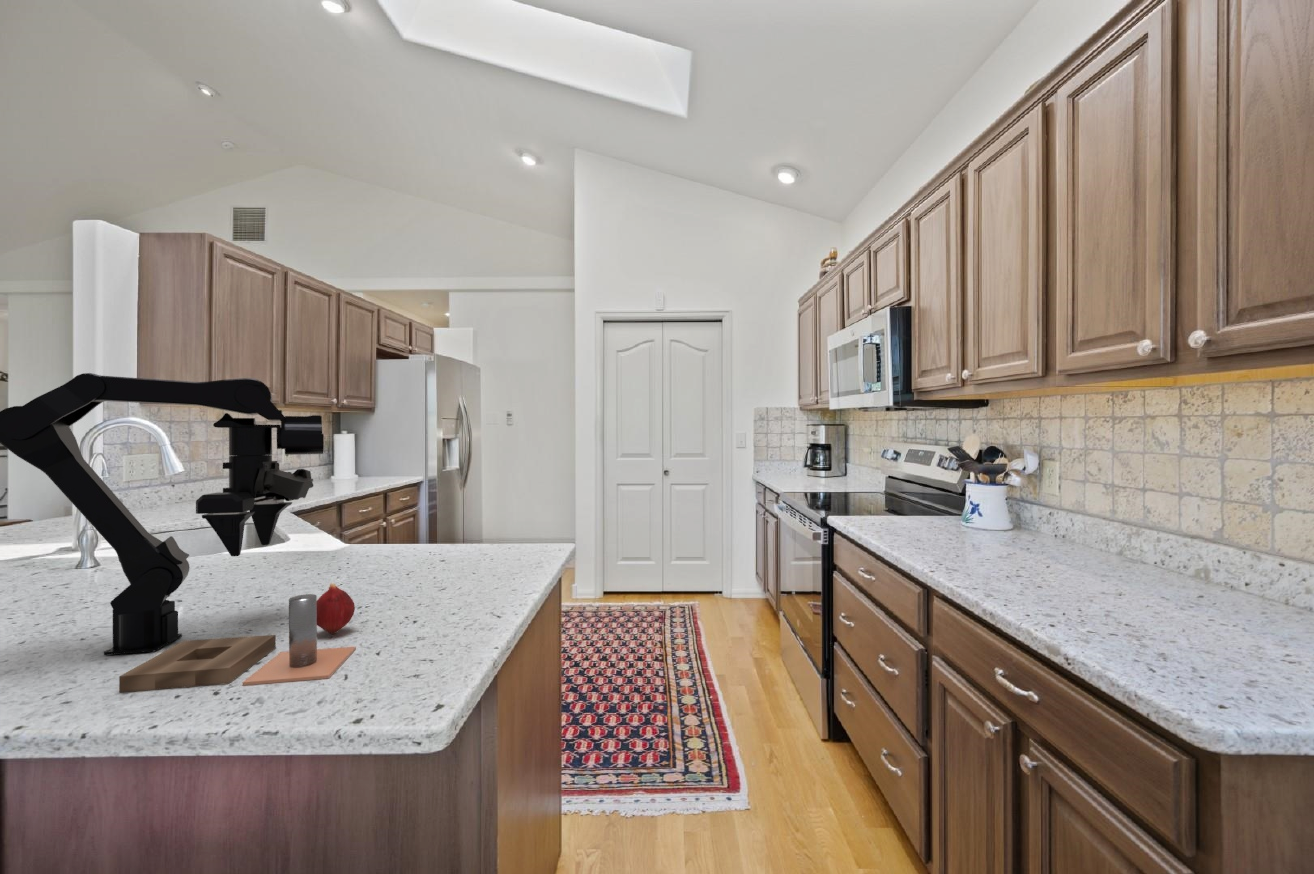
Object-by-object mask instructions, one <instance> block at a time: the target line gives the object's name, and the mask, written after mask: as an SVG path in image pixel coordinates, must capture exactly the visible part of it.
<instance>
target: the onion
mask: <svg viewBox="0 0 1314 874" xmlns="http://www.w3.org/2000/svg"><path fill="white" fill-rule="evenodd" d="M355 609H356V606H355V601H354V600H353V598H352V597H351V596H350V595H349V594H348V593H347V592H346V591H344V590H343V589H341V588H339V587H338V586H337V585H336V584H335V583H333V582H332V583H330V584H329V587H328V590H327V591H324V593H322V595H321V596H320V597H319V598H317V627H319V628H321V629H322V630H324V631H326V632H327V633H329V634H330V635H333V634H334V635H335V634H336V633H337V632H339V631H340V630H342V629H343V628H344V627H346V625H347V624H349V622H350V621H351V620H352V618H353V616H354V614H355Z"/></svg>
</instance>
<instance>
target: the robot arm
mask: <svg viewBox="0 0 1314 874" xmlns="http://www.w3.org/2000/svg"><path fill="white" fill-rule="evenodd" d="M272 395H273V394H272V393H271V391H270V389H269V387H268V385H266V384H265V383H264V382H262V381H261V380H258V379H255V378H252V377H245V378H244V377H243V378H230V379H227V378H226V379H221V380H218V379H217V380H209V381H187V380H186V381H185V380H169V379H156V378H140V377H125V376H111V375H101V374H97V373H91V372H86V373H81V374H78V375H76V376H75V377H73V378H72V379H70V380H69V381H67V382H65V383H64V384H62V385H60V386H58V387H56V388H54V389H52V390H50V391H48V392H45V393H43V394H41V395H39V396H37V397H35V398H33V399H32V400H30V401H29V402H26V403H25V404H23V405H15V406H14V405H13V406H11V407H7V408H4V409H2V410H0V445H2V446H3V447H4V448H6V449H7V450H9V451H10V452H11V453H12V454H14V455H15V456H16V457H18V458H19V459H20V460H22V461H25V462H26V463H29V464H30V465H31V466H33V467H34V468H37V469H38V470H40V471H41V472H43V474H45V475H46V476H47V477H48V478H49V479H50V480H51V481H52V482H53V484H54V485H55V486H56V487H57V488H58V489H59V490H60V492H62V494H63V495H65V497H66V498H67V499H68V500H69V501H70V502H71V504H72V505H73V506H75V508H76V509H77V510H78V511H79V512H80V513H81V515H82V516H83V517H84V518H85V519H86V520H87V521H88V522H89V523H90V525H92V527H93V528H95V530H96V532H98V533H99V534H100V535H101V536H102V538H104V540H105V541H106V542H107V543H108V544H109V546H111V547H112V548H113V550H114V551H115V553H116V554H117V557H118V561H119V563H120V565H121V569H122V571H123V573H124V575H125V576H126V579H127V580H128V582H129V585H128V586H127V587H126V588H125V589H124V590H122V591H121V592H120V593H119V594H118V595H116V596H115V597H114V598H113V599H112V600H111V601H110V606H111V608H112V647H110V648H108V649H106V650H104V651H103V655H105V656H107V655H108V656H109V655H122V654H123V655H124V654H139V653H150V652H156V651H157V650H160V649H161V648H163V647H165V646H168V645H169V644H170V643H173V642H175V641H177V640H178V639H180V638H182V636H183V633H181V632H180V633H179V611H178V610H176V601H175V600H169V599H168V598H169V597H170V596H171V595H172V594H173V593H174V592H176V591H177V590H178V589H179V587H180V586H181V585H182V584H183V582H184V581H185V580H186V578H187V577H188V575H189V572H190V564H189V561H188V558H189V557H190V554H189V553H187V552H185V551H184V550H182V549H181V548H180V546H179V545H178V543H177V541H176V540H175V538H174V536H171V535H170V536H169V537H167V538H166V539H165V540H164V541H162V540H161V539H159V538H157V537H155V536H154V535H152V534H151V533H149V532H148V531H147V529H146V528H145V527H144V526H143V525H142V524H141V523H140V522H139V520H138V519H137V518H136V517H135V516H134V515H133V513H132V512H131V511H130V510H129V508H128V507H126V505H125V504H124V503H123V502H122V501H121V500H120V498H118V496H117V495H116V494H115V493H114V492H113V491H112V490H111V488H110V487H109V486H108V485H107V484H106V483H105V482H104V480H103V479H102V478H101V477H100V476H99V475H98V474H97V472H96V471H95V470H94V469H93V468H92V467H91V465H90V464H89V463H87V461H86V460H85V459H84V457H83V455H82V453H81V452H82V451H81V449H80V447H79V446H80V445H79V444H78V440H77V438H76V436H75V434H74V432H73V431H72V429H71V426H73V425H75V424H76V423H77V422H79V421H81V420H82V419H83V418H84V417H86V415H88V414H89V413H91V411H93V410H94V409H95V408H97V406H99V405H101V404H102V403H104V402H115V403H117V402H119V403H120V402H121V403H133V404H134V403H136V404H137V403H138V404H139V403H140V404H158V405H159V404H160V405H177V406H178V405H179V406H180V405H181V406H196V407H197V406H199V407H206V408H211V409H216V410H219V411H221V410H222V411H226V412H227V413H226V412H225V413H224V414H223V416H222V417H221V418H220V419H218V420H217V421H216V422H214V423H213V424H212V425H213V427H214V428H218V429H228V461H226V462H225V461H224V462H222V469H223V470H227V469H228V486H227V487H223V488H222V492H212V493H206V494H202V495H201V496H200V497H199V498H197V499H196V500H195V514H197V515H201V518H202V519H204V520H206V522H207V523H208V525H209V526H210V527H211V528H212V529H213V531H214V532H215V533H216V535H217V536H218V538H219V540H220V541H221V542H222V544H223V545H224V547H225V549H226V551H227V552H228V554H229V555H230V557H240V555H241V552H242V547H243V541H244V540H243V538H244V531H245V525H246V524H245V523H246V522H247V521H248V520H249V519H250V518H251V519H252V522H253V525H254V528H255V531H256V534H257V536H258V539H259V542H260V544H261V546H269V545H270V544H271V542H272V539H273V534H274V532H275V529H276V527H277V523H278V521H279V518H280V515H281V513H282V512H283V511H284V510H286V509H287V508H288V507H290V506H291V505H292V504H293V502H292V501H298V500H299V499H301V498H302V499H305V498H306V497H307V494H308V492H309V490H310V489H312V488H313V487H314V483H313V482H314V479H313V478H312V473H311V470H308V469H305V468H298V469H296V470H295V471H294V472H293V473H292V471H285V470H280V463H279V462H278V460H273V429H276V449H277V450H284V456H286V455H287V456H288V455H324V447H325V446H324V442H325V440H324V439H325V437H324V433H323V422H322V418H323V417H322V415H320V414H317V415H315V414H311V415H308V416H307V415H305V416H303V415H301V416H300V415H284V414H283V411H282V409H278V408H277V407H276V405H275V404H274V403H273V402H272V401H273V396H272ZM228 412H231V413H237V414H242V415H248V416H254V415H259V416H260V417H263V418H264V419H266V420H268V421H270V422H280V424H258V423H257V424H256V418H254V417H232V415H231V414H230V413H228Z"/></svg>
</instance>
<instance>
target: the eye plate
mask: <svg viewBox="0 0 1314 874" xmlns="http://www.w3.org/2000/svg"><path fill="white" fill-rule="evenodd" d="M276 636H277V635H276V634H268V635H267V634H266V635H255V636H252V635H251V636H250V635H249V636H238V637H225V638H224V637H222V638H209V639H206V638H205V639H193V640H182V641H181V642H179V643H177V644H175V645H172V647H170V648H168V649H166V650H164V651H163V652H161V653H159V654H158V655H155V656H153V657H152V658H150V659H148V660H146V661H145V662H143V663H141V664H139V665H137V666H135V667H134V668H131V669H130V670H127V671H126V672H125V673H122V674H121V675H119V677H118V679H119V680H118V681H119V683H118V686H119V689H118V690H119V691H118V692H119V693H129V692H139V691H140V692H142V691H144V692H145V691H154V690H155V691H156V690H165V689H177V688H178V689H181V688H189V687H191V688H192V687H201V686H203V687H205V686H214V685H225V684H226V685H228V684H230V683H232V682H233V681H235V680H236V679H238V677H240V676H241V675H242V674H244V673H245V672H246V671H247V670H249V669H250V668H252V667H253V666H254V665H255V664H257V663H258V662H260V661H261V660H262V659H264V658H265V657H266V656H267V655H269V654H270V653H271V652H273V651H274V650H275V649H276V647H277V646H276V645H277V644H276V643H277V642H276V639H277V638H276Z"/></svg>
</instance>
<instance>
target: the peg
mask: <svg viewBox="0 0 1314 874" xmlns="http://www.w3.org/2000/svg"><path fill="white" fill-rule="evenodd" d="M317 600H318V598H317V595H316V594H313V593H309V594H308V593H306V594H301V595H300V594H299V595H295V596H291V597H290V598H289V599H288V652H289V666H290V667H292V668H301V667H306V666H309V665H312V664H314V663H315V662H316V661H317V649H318V634H317V633H318V629H317V628H318V626H317Z"/></svg>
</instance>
